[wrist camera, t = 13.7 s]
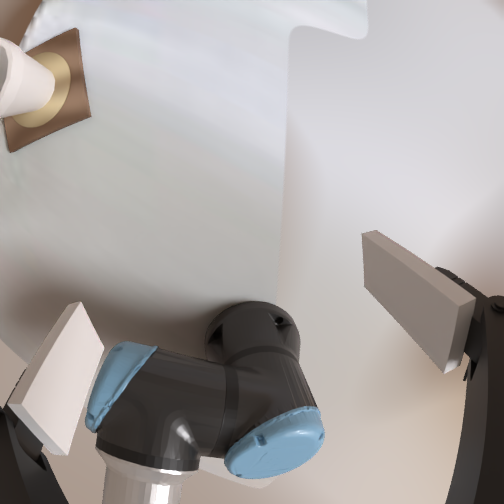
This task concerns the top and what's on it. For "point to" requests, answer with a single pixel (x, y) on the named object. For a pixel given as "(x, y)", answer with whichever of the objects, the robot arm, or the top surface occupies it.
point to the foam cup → (22, 81)
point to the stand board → (54, 93)
